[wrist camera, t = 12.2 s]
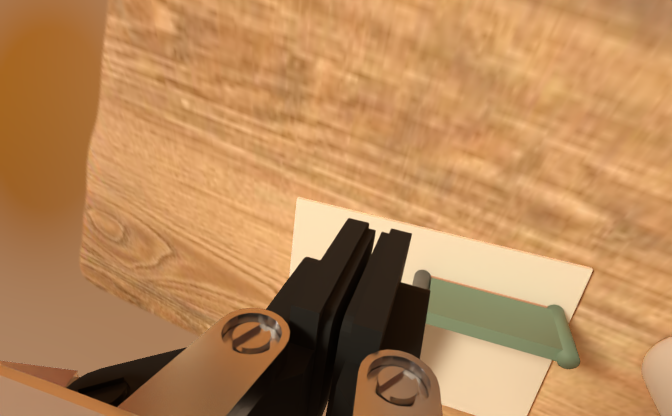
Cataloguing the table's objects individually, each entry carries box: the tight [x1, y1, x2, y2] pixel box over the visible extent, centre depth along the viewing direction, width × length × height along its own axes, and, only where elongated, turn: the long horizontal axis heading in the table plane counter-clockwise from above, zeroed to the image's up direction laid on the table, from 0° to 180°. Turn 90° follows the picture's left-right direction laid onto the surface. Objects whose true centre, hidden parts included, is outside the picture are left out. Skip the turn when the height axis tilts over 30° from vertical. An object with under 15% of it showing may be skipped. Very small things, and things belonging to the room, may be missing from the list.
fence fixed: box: [412, 270, 580, 369], centre depth 37 cm, size 14×2×7 cm, turn 82°
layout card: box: [289, 197, 593, 416], centre depth 43 cm, size 27×20×1 cm
